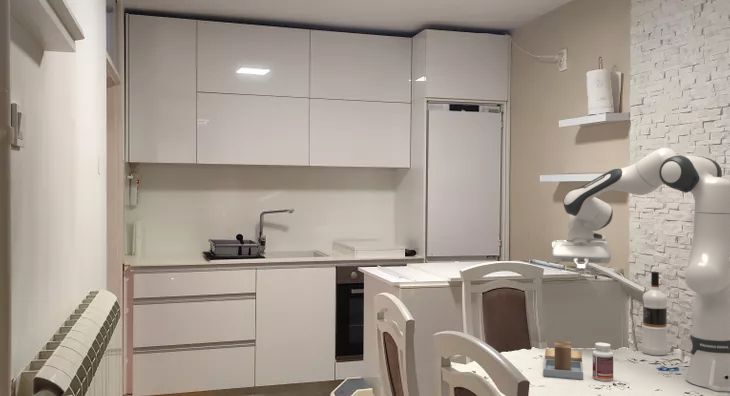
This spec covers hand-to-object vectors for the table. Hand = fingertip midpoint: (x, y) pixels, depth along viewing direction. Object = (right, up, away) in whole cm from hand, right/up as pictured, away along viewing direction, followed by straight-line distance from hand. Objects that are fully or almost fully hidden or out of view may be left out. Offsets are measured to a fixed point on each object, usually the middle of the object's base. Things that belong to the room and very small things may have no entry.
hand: (581, 270), depth 226 cm
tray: (-13, -32, -19) cm, 39 cm away
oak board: (-9, -31, -8) cm, 34 cm away
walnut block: (-11, -26, -15) cm, 33 cm away
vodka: (+29, -32, +6) cm, 43 cm away
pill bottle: (-2, -32, -26) cm, 41 cm away
